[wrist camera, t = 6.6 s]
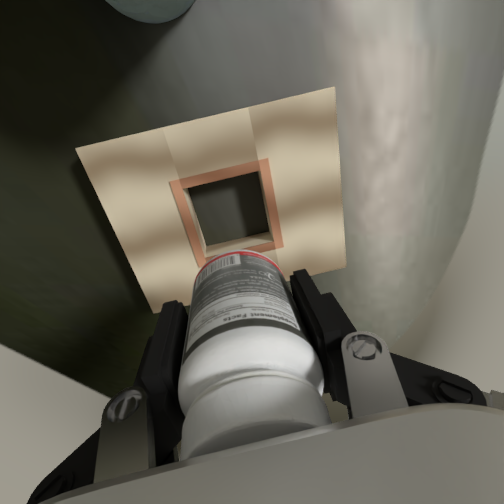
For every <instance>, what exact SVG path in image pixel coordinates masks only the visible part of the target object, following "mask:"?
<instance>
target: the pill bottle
mask: <svg viewBox="0 0 504 504" xmlns="http://www.w3.org/2000/svg"><path fill="white" fill-rule="evenodd" d="M323 388H324V374H323V369H322V365H321V362H320V360H319V357H318V355H317V352H316V350H315V347H314V345H313V343H312V341H311V338H310V336H309V334H308V331H307V329H306V327H305V324H304V322H303V320H302V318H301V315H300V312H299V310H298V308H297V306H296V303H295V301H294V299H293V296H292V294H291V292H290V289H289V287H288V285H287V282H286V280H285V277H284V275H283V273H282V271H281V270H280V268H279V267H278V266H277V264H276V263H275V262H273V261H272V260H271V259H270V258H268V257H266V256H265V255H263V254H260V253H258V252H255V251H251V250H241V249H239V250H231V251H227V252H224V253H221V254H219V255H217V256H215V257H213V258H212V259H210V260H209V261H208V262H207V263H205V265H204V266H203V267H202V268H201V269H200V271H199V272H198V274H197V276H196V278H195V281H194V285H193V290H192V299H191V305H190V312H189V318H188V325H187V332H186V338H185V344H184V350H183V357H182V363H181V369H180V376H179V382H178V398H179V403H180V406H181V409H182V412H183V413H184V415H185V417H186V418H185V420H184V423H183V427H182V443H181V457H180V461H182V460H186V459H190V458H194V457H198V456H202V455H206V454H210V453H214V452H218V451H222V450H226V449H230V448H234V447H238V446H242V445H246V444H250V443H255V442H259V441H263V440H267V439H271V438H275V437H279V436H283V435H287V434H291V433H295V432H300V431H304V430H308V429H312V428H316V427H320V426H325V425H329V424H332V422H331V419H330V417H329V413H328V409H327V406H326V404H325V402H324V400H323V399H322V397H321V396H322V393H323Z"/></svg>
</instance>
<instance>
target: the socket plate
mask: <svg viewBox="0 0 504 504" xmlns="http://www.w3.org/2000/svg"><path fill="white" fill-rule="evenodd" d="M75 149H76V151H77V153H78V156H79V158H80V160H81V162H82V164H83V166H84V168H85V170H86V172H87V174H88V177H89V179H90V181H91V183H92V185H93V187H94V189H95V191H96V193H97V195H98V198H99V200H100V202H101V204H102V206H103V208H104V210H105V212H106V214H107V216H108V219H109V221H110V223H111V225H112V227H113V229H114V231H115V233H116V235H117V238H118V240H119V242H120V244H121V246H122V248H123V250H124V252H125V254H126V256H127V259H128V261H129V263H130V265H131V267H132V269H133V271H134V273H135V275H136V277H137V280H138V282H139V284H140V286H141V288H142V290H143V292H144V294H145V296H146V299H147V301H148V303H149V305H150V307H151V309H152V311H153V313H158V312H161V309H162V305H163V303H165V302H169V301H173V300H177V301H178V303H179V302H182V303H183V305H184V306H187V305H191V299H192V290H193V285H194V281H195V278H196V276H197V274H198V272H199V271H200V269H201V268H202V267H203V266H204V265H205V263H207V262H208V261H209V260H210V259H212V258H213V257H215V256H217V255H219V254H221V253H224V252H227V251H231V250H239V249H241V250H251V251H255V252H258V253H260V254H263V255H265V256H266V257H268V258H270V259H271V260H272V261H273V262H275V263H276V264H277V266H278V267H279V268H280V270H281V271H282V273H283V275H284V277H285V280H286V281H290V277H289V276H290V275H293V271H297V270H301V269H306V270H307V272H308V274H309V275H310V276H311V275H315V274H319V273H323V272H327V271H332V270H336V269H340V268H344V267H346V251H345V236H344V221H343V205H342V190H341V175H340V160H339V144H338V129H337V114H336V98H335V87H330V88H326V89H322V90H318V91H314V92H309V93H305V94H301V95H297V96H293V97H288V98H284V99H280V100H276V101H272V102H268V103H263V104H259V105H255V106H251V107H247V108H242V109H238V110H234V111H230V112H226V113H221V114H217V115H213V116H209V117H205V118H200V119H196V120H192V121H188V122H184V123H180V124H175V125H171V126H167V127H163V128H159V129H154V130H150V131H146V132H142V133H138V134H133V135H129V136H125V137H121V138H117V139H112V140H108V141H104V142H100V143H96V144H92V145H87V146H83V147H79V148H75ZM256 171H258V176H259V181H260V186H261V191H262V196H263V201H264V206H265V211H266V216H267V221H268V226H269V232H265V233H260V234H256V235H252V236H248V237H244V238H240V239H236V240H231V241H227V242H223V243H219V244H215V245H211V246H206V244H205V241H204V238H203V235H202V232H201V229H200V226H199V222H198V219H197V216H196V213H195V210H194V207H193V204H192V201H191V197H190V194H189V191H188V188H189V187H193V186H197V185H201V184H206V183H210V182H214V181H218V180H222V179H226V178H231V177H235V176H239V175H243V174H247V173H251V172H256Z"/></svg>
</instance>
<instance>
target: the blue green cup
mask: <svg viewBox="0 0 504 504" xmlns="http://www.w3.org/2000/svg"><path fill="white" fill-rule="evenodd" d="M105 1H106V2H108V3H109V4H110V5H111V6H112V7H114V8H115V9H116V10H117V11H119V12H120V13H122V14H124V15H126V16H128V17H130V18H132V19H134V20H137V21H141V22H145V23H163V22H167V21H170V20H173V19H175V18H177V17H179V16H180V15H181V14H183V13H184V12H185V11H186V10H187V9H188V8H189V7H190V6H191V5H192V4H193V3H194V1H195V0H105Z"/></svg>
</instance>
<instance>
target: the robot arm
mask: <svg viewBox="0 0 504 504" xmlns="http://www.w3.org/2000/svg"><path fill="white" fill-rule="evenodd" d="M289 277H290V283H291V289H292V294H293V299H294V301H295V303H296V306H297V308H298V310H299V312H300V315H301V318H302V320H303V322H304V324H305V327H306V329H307V331H308V334H309V336H310V338H311V341H312V343H313V345H314V347H315V350H316V352H317V355H318V357H319V360H320V362H321V365H322V369H323V374H324V388H323V391H324V393H330V395H331V397H332V400H333V401H338V402H340V403H342V404H344V405H346V406H347V411H348V417H349V420H345V421H341V422H338V423H333V424H329V425H325V426H320V427H316V428H312V429H308V430H304V431H300V432H295V433H291V434H287V435H283V436H279V437H275V438H271V439H267V440H263V441H259V442H255V443H250V444H246V445H242V446H238V447H234V448H230V449H226V450H222V451H218V452H214V453H210V454H206V455H202V456H198V457H194V458H190V459H186V460H182V461H179V458H178V451H177V446H176V445H177V444H178V443H179V442H180V440H181V439H182V427H183V423H184V420H185V418H186V417H185V415H184V413H183V412H182V409H181V406H180V403H179V398H178V382H179V376H180V369H181V363H182V357H183V350H184V344H185V338H186V332H187V325H188V318H189V317H188V315H187V312H186V310H185V307H184V305H183V303H182V302H179V303H178V301H177V300H173V301H169V302H165V303H163V305H162V309H161V312H160V315H159V319H158V322H157V325H156V329H155V332H154V335H153V336H150V337H149V339H148V341H147V345H146V348H145V351H144V354H143V357H142V360H141V363H140V366H139V369H138V372H137V376H136V379H135V382H134V385H133V386H131V387H128V388H125V389H124V390H122V391H120V392H119V393H117V394H116V395H115V396H114V397H113V398H112V399H111V400H110V401H109V402H108V403H107V405H106V407H105V409H104V411H103V414H102V421H101V427H100V428H99V429H98V430H97V431H96V432H95V433H94V434H92V435H91V436H90V437H89V438H88V439H87V440H86V441H85V442H84V443H83V444H82V445H80V446H79V447H78V448H77V449H76V450H75V451H74V452H73V453H72V454H71V455H70V456H68V457H67V458H66V459H65V460H64V461H63V462H62V463H61V464H60V465H58V466H57V467H56V468H55V469H54V470H53V471H52V472H51V473H50V474H49V475H48V476H46V477H45V478H44V479H43V480H42V482H41V483H40V484H39V485H38V486H37V487H36V489H35V490H34V492H33V493H32V494H31V496H30V498H29V500H28V503H27V504H504V393H501V392H497V391H494V390H491V392H490V393H486V392H483V391H480V389H479V388H478V387H477V386H476V385H475V384H473V383H472V382H470V381H469V380H467V379H465V378H463V377H460V376H458V375H455V374H452V373H449V372H446V371H443V370H440V369H438V368H435V367H431V366H428V365H426V364H423V363H420V362H417V361H414V360H411V359H408V358H405V357H402V356H399V355H396V354H393V353H390V352H389V350H388V348H387V345H386V344H385V342H384V340H382V339H381V338H380V337H379V336H377V335H375V334H373V333H370V332H365V331H358V332H357V330H356V329H355V327H354V326H353V324H352V323H351V321H350V320H349V318H348V317H347V315H346V314H345V312H344V311H343V309H342V308H341V306H340V305H339V303H338V302H337V300H336V299H335V297H334V296H333V294H332V293H326V294H322V295H321V294H320V292H319V291H318V289H317V287H316V286H315V284H314V282H313V280H312V279H311V277H310V275H309V274H308V272H307V270H306V269H301V270H297V271H293V275H290V276H289Z"/></svg>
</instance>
